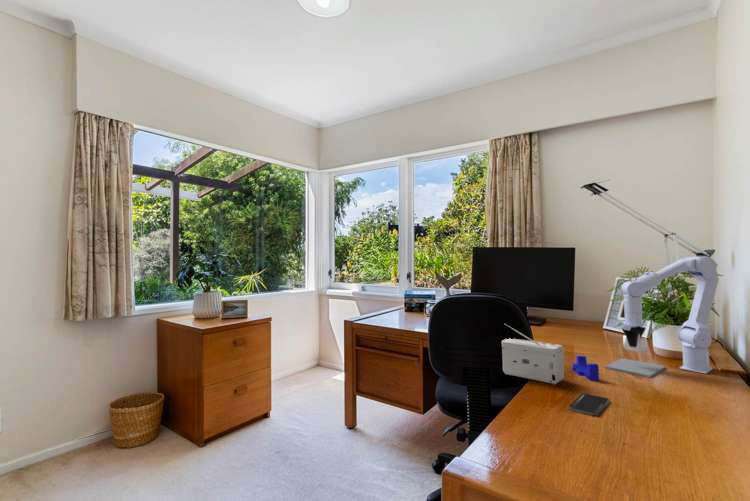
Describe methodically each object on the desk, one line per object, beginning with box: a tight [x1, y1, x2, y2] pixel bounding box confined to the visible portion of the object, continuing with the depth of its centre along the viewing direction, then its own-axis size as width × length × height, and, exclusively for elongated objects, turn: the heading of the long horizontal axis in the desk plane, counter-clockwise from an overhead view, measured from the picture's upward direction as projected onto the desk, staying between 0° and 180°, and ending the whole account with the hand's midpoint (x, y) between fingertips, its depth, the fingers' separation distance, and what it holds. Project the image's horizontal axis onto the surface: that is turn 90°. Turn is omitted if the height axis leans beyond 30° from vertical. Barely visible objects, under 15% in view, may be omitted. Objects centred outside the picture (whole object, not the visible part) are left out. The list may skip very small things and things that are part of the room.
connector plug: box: [622, 334, 648, 353], centre depth 142 cm, size 3×8×6 cm, turn 35°
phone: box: [568, 392, 611, 417], centre depth 109 cm, size 8×1×15 cm
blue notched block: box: [572, 355, 600, 382], centre depth 136 cm, size 12×4×6 cm, turn 171°
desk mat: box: [604, 358, 667, 379], centre depth 142 cm, size 17×15×1 cm
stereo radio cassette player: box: [500, 323, 565, 385], centre depth 136 cm, size 21×8×20 cm, turn 47°
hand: (634, 345), depth 142 cm, fingers closed on connector plug, 3 cm apart
